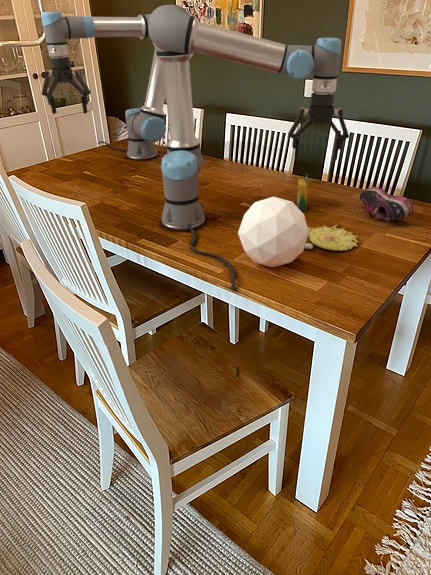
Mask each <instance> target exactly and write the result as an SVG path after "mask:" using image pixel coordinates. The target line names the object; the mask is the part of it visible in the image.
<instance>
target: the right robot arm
mask: <svg viewBox="0 0 431 575" xmlns="http://www.w3.org/2000/svg"><path fill="white" fill-rule="evenodd" d="M150 14H151V16H150V18H149V22H148V31H149V35H150V38H151V40H150V41H152V44H153V43H154V44H155V45H156V54H157V57H158V58H159V59H160V60H161V61H162V65H163V74H164V83H165V93H166V96H165V101H166V110H167V120H168V129H169V137H170V138H169V140H167V142H166V152H167V153H166V154H165V155H163V156H162V158H161V166H160V168H161V173H162V174H161V176H162V184H163V194H164V204H163V209H162V213H161V219H160V220H161V225H162V227H163V228H165V229H167V230H170V231H175V232H176V231H177V232H185V231H186V232H187V231H190V232H191V233H192V236H193V239H192V241H191V242H190V245H189V247H190V249H191V250H192V251H193V252H194V253H197V254H199V255H202V256H203V255H204V256H208V257H213V258H215V259H218V260H220V261H221V262H223V263H224V264H226V265H227V267H228V268H229V270H230V272H231V290H232V292H236V291H237V290H236V272H235V269H234V267H233V266H232V264H231V263H230V262H229V261H228V260H227V259H225V258H224V257H222V256H221V255H219V254H216V253H213V252H207V251H202V250H199V249H197V248H195V246H194V245H195V243H196V242H197V233H196V232H195V229H198V228H201V227H202V226H203V225H204V224H205V223H206V217H205V212H204V210H203V209H204V204H203V203H201V202H200V196H199V176H200V173H201V170H202V168H203V164H204V163H203V162H204V160H203V159H204V158H203V154H202V152H201V142H200V140H199V139H198V138H197V137H196V133H195V120H194V108H193V94H192V80H191V69H190V60H191V59H192V57H193V55H194V53H196V54H200V55H201V54H202V55H205V56H209V57H213V58H216V59H217V58H218V59H221V60H225V61H229V62H233V63H238V64H241V65H245V66H249V67H252V68H257V69H261V70H265V71H269V72H273V73H277V74H280V75H284V76H287V77H291V79H293V80H299V81H300V80H304V79H306V78H308V77H309V76H310V74H311V73H313V76H312V85H311V91H312V93H311V94H310V104H309V108H304V107H300V109H299V112H298V115H297V117H296V118H295V120H294V121H293V124H292V126H291V127H290V129H289V131H288V133H287V136H288V138H291V139H292V144H291V147H292V149H294V159H295V160H298V154H299V145H300V144H299V143H300V138H299V137H300V136H301V135H302V134H303V133H304V132H305V131H306V130H307V128H309V127H310V125H312V124H313V123H314V124H319V123H320V124H326V123H328V124H329V125H330V127H331V129H332V130H333V131H334V133H335V135H336V136H337V138H335V143H334V152H333V160H335V161H337V160H338V154H339V150H342V149H343V143H344V142H343V141H344V140H345V139H349V138H350V134H349V132H348V129H347V126H346V122H345V120H344V117H343V115H344V111H343V109H342V108H341V107H339V108H335V109H334V106H335V105H334V104H335V98H336V94H335V92H336V89H337V82H338V74H339V67H340V61H341V56H342V54H341V51H342V40H341V39H340V38H338V37H319V38H317V40H316V43H315V44H313V45H306V44H305V45H301V44H285V43H281V42H277V41H273V40H269V39H266V38H262V37H259V36H254V35H250V34H247V33H243V32H239V31H235V30H231V29H228V28H223V27H220V26H216V25H212V24H210V23H209V24H208V23H204V22H201V21H200V20H199V19H198V17H197V16H194V15H190V14H189V12H188V11H187V10H186V9H185V8H184V7H182V6H180V5H177V4H164V5H160V6H158V7H157V8H155V9H154V10H153V11H152V13H150ZM307 114H308V116H309V117H308V118H307V119H306V121H305V122H304V123H303V124H302V125H301V126H300V127H299V128H298V126H299V125H300V123H301V122H302V120H303V118H304V117H305V116H306V115H307ZM334 114H335V116H336V117H337V118H338V121H339V124H340V126H341V131H342V133H343V134H341V132H340V131H339V129H338V127H337V126H336V124H335V123H334V122H333V120H332V117H333V116H334ZM297 128H298V129H297ZM296 130H297V131H296ZM235 371H236V376H237V377H239V378H240V366H236V370H235Z"/></svg>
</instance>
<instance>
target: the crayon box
mask: <svg viewBox="0 0 431 575" xmlns="http://www.w3.org/2000/svg"><path fill="white" fill-rule="evenodd" d="M297 181H298V182H297V196H296V197H297V198H296V206H297V207H298V209H299V210H300V211H301V212H307V206H308V205H307V203H308V190H309V178H308V174H307V173H306V174H305V178H298V180H297Z"/></svg>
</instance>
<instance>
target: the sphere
mask: <svg viewBox="0 0 431 575" xmlns="http://www.w3.org/2000/svg"><path fill="white" fill-rule="evenodd" d="M307 227H308V224H307V220H306V217H305V214H304V213H303V211H300V210H299V209H298V205H297V204H295V203H294V202H293V201H291V200H288V199H283V198H280V197H276V196H271V197H268V198H264V199H261V200H258V201H254V202H253V203H252V205H251V206H250V207H249V209H248V210H246V211H245V213H244V214H243V217H242V220H241V224H240V226H239V228H238V231H237V234H238V238H239V240H240V242H241V245H242V248H243V251H244V253H245V254H246V255H247V256H248V257H249V258H250V259H251V261H252V262H253V263H255V264H259V265H262V266H266V267H269V268H276V267H279V266H283V265H286V264H290V263H293V262H294V260H295V259H297V258H298V257H299V256H300V255H301V254H302V253H303V252H304V250H305V248H304V247H305V244H306V243H307V239H308V234H309V231H308V228H307Z"/></svg>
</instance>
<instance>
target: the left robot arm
mask: <svg viewBox="0 0 431 575" xmlns="http://www.w3.org/2000/svg"><path fill="white" fill-rule="evenodd" d="M151 14H152V13H148V14H139V15H137V16H86V15H82V16H81V15H78V16H70V15H66V16H63V15H62V12H61V11H60V10H59V11H42V13H41V23H42V28H43V33H44V37H45V41H46V46H47V52H48V56H49V57H50V58H49V62H50V66H51V70H49V69H47V70H45V71H44V81H43V86H42V90H41V96H44V97H46V99H47V103H48V105H49V106H50V108H51V113H52V115H55V114H57V113H58V111H57V107H56V102H55V98H54V96H53V93H54V91H55V90H56V87H57V85H58V84H62V83H65V84H67V83H69V84H70V85H71V86H72V87H73V88H74V89H75V90H76V91H77V92H78V93H79V94H80V95H81V96H80V101H81V106H82V110H83V114H84V115H85V114H87V113H88V107H87V106H88V104H89V98H88V96H89V95H91V94H92V91H91V89H90V88H89V86H88V85H87V83H86V82H85V80H84V78H83V77H82V75H81V71H80V70H79V69H75V70H73V69H72V65H71V60H70V57H69V48H68V43H67V40H76V39H77V40H78V39H79V40H80V39H92V38H139V39H140V40H148V41H152V40H151V38H150V35H149V31H148V22H149V18H150V16H151ZM152 45H153V47H154V52H153V58H152V64H151V68H150V74H149V79H148V84H147V90H146V95H145V100H144V105H142V106H141V107H138V108H130V109H127V110H125V112H124V113H125V122H126V131H127V138H128V144H127V149H125V148H119V147H115V146H112V145H111V143H109V142H106V141H103V140H100V141H98V142H97V145H100V144H104V145H107V146H108V147H109V148H111V149H113V150H117V151H122V152H126V157H127V159H129V160H131V161H146V160H151V159H154V158H157V156H158V150H157V149H156V146H155V144H154V143H158V142H159V141H161V140H162V139H163V138H164V137H165V134H166V132H167V126H166V123H165V119H166V118H165V116H166V113H165V112H164V105H165V101H166V93H165V83H164V74H163V65H162V61H161V60H160V59H159V58H158V57H157V54H156V45H155V44H154V43H153V42H152ZM52 76H53V77H54V79H53V81H52V83H51V85H50V82H51V77H52ZM73 76H74V77H75V78H76V80H77V81H78V82H77V81H76V80H75V79H74V78H73ZM49 86H50V87H49Z"/></svg>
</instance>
